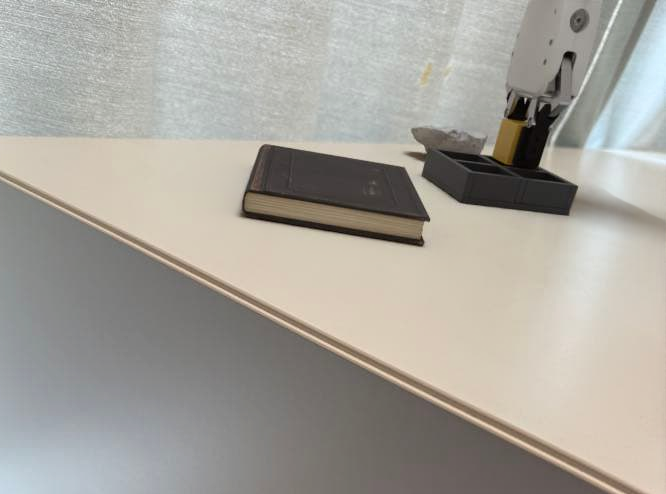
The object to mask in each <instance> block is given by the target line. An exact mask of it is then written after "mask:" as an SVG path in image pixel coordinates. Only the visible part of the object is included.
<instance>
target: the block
mask: <svg viewBox="0 0 666 494" xmlns="http://www.w3.org/2000/svg"><path fill="white" fill-rule="evenodd" d="M522 126H524V127H527V121H518V120H511V119H506V118H504V117H503V118H502V119H501V123H500V126H499V130H498V134H497V137H496V141H495V143H494V147H493V151H492V154H491V156H492V157H493V158H494V159H496V160H498V161H500V162H502V163H504V164H506V165H513V163H512V160H513V157H514V154H515V150H516V147H517V143H518V140H519V137H520V133H521V130H522ZM550 132H551V131H550ZM550 132H549V135H550ZM549 135H548V138H549ZM548 138H547V141H546V143H547V142H548ZM544 151H545V150H544ZM544 151H543V154H542V157H541V159H542V158H543V155H544ZM513 166H515V165H513ZM521 167H522V166H521ZM538 167H540V165H539V166H538ZM538 167H537V169H538ZM529 168H530V167H529Z"/></svg>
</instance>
